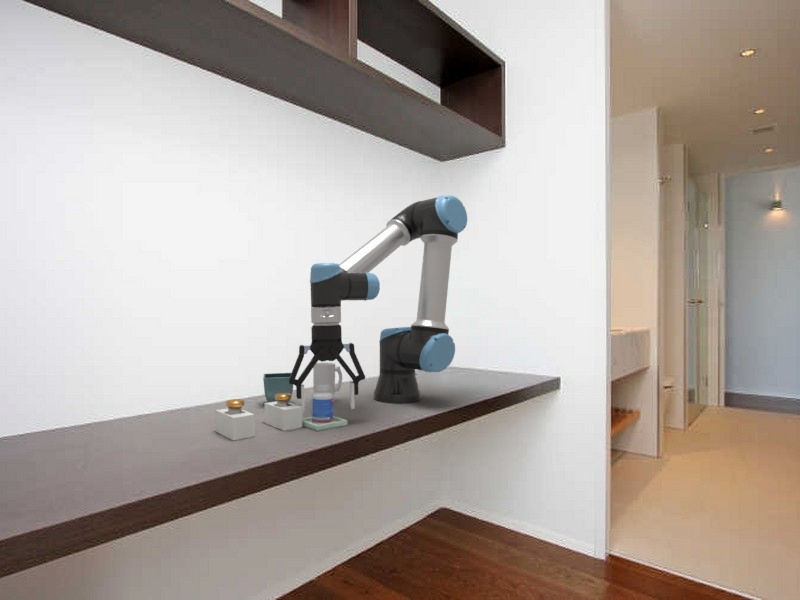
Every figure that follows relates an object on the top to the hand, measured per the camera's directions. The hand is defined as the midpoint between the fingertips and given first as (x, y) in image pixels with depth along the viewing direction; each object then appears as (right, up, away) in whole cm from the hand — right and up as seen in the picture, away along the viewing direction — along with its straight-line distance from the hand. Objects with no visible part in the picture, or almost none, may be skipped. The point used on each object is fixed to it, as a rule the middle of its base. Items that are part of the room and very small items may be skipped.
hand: (328, 409), depth 119 cm
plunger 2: (-11, -3, -1) cm, 12 cm away
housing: (-16, -3, -6) cm, 17 cm away
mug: (-4, -4, +27) cm, 28 cm away
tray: (-1, -4, 0) cm, 4 cm away
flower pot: (-18, -4, +22) cm, 29 cm away
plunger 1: (-20, -3, -10) cm, 23 cm away
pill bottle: (-1, -3, 0) cm, 4 cm away
